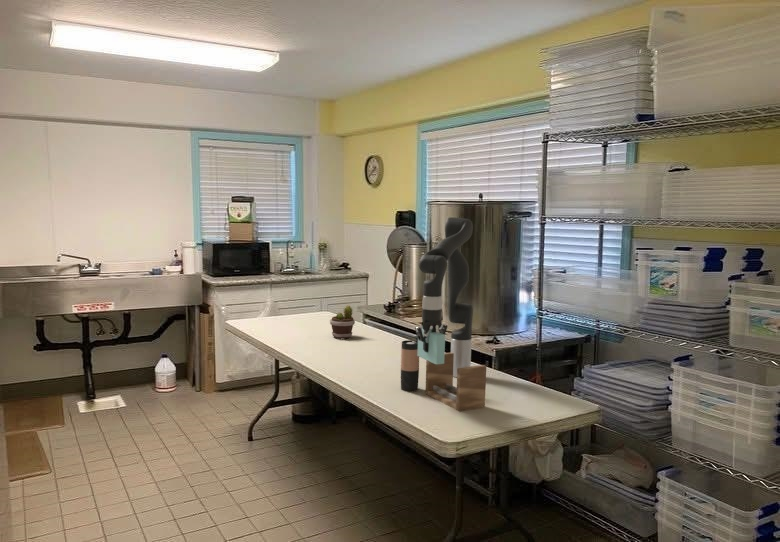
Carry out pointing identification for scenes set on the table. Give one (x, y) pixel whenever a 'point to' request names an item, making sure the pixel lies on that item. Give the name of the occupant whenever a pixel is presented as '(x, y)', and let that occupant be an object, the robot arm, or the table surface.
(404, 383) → the travel mug
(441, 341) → the pale teal rectangular block
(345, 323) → the flowerpot
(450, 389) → the slotted wooden stand
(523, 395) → the table surface
